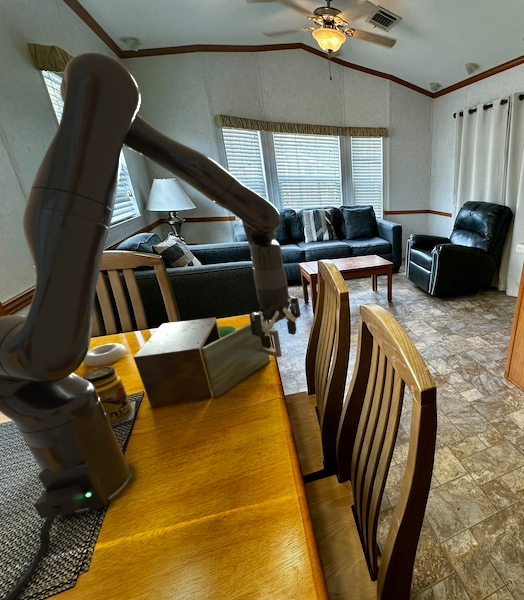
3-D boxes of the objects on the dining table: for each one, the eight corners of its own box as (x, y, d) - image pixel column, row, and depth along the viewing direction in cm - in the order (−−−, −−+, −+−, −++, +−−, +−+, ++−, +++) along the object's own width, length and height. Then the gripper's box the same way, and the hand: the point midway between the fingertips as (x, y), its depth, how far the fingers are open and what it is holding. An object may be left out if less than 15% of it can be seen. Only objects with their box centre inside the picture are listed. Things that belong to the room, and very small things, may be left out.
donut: (91, 373, 91) (133, 356, 99) (86, 362, 90) (129, 346, 98) (79, 362, 96) (119, 347, 104) (74, 352, 95) (116, 338, 103)
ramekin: (220, 336, 111) (217, 324, 109) (244, 338, 110) (242, 326, 108) (201, 349, 102) (198, 337, 101) (228, 351, 101) (225, 339, 100)
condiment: (133, 419, 74) (116, 374, 69) (83, 435, 70) (62, 388, 65) (136, 401, 80) (120, 359, 75) (90, 415, 75) (70, 371, 71)
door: (288, 365, 94) (281, 322, 89) (236, 404, 78) (224, 354, 73) (267, 360, 96) (259, 318, 91) (213, 396, 81) (201, 348, 76)
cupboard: (225, 360, 97) (215, 317, 92) (212, 397, 81) (198, 348, 76) (176, 367, 93) (162, 323, 88) (151, 408, 77) (133, 357, 72)
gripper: (282, 274, 90) (290, 327, 96) (236, 289, 78) (248, 349, 84) (302, 278, 86) (309, 332, 92) (258, 295, 75) (269, 356, 81)
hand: (280, 340), depth 88 cm, fingers open, 8 cm apart
